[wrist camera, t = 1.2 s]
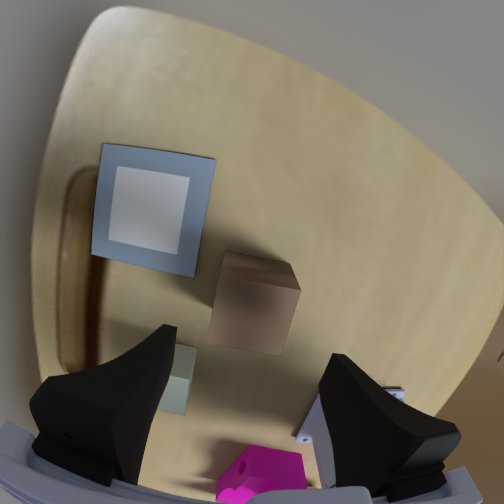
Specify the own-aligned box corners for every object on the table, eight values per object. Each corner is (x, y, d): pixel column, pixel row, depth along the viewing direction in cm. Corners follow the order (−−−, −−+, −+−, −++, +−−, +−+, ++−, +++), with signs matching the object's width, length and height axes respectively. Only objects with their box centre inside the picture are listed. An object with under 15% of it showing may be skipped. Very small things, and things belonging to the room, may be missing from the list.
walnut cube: (290, 263, 20) (301, 290, 16) (274, 320, 21) (280, 356, 17) (225, 250, 20) (219, 274, 15) (214, 308, 21) (206, 343, 17)
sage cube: (197, 347, 22) (189, 379, 18) (191, 382, 23) (184, 415, 19) (148, 335, 22) (133, 365, 18) (147, 372, 23) (134, 402, 19)
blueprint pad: (216, 160, 18) (216, 160, 18) (194, 276, 20) (193, 278, 20) (105, 143, 17) (103, 143, 17) (93, 252, 20) (91, 254, 19)
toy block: (249, 442, 26) (251, 501, 19) (301, 452, 27) (310, 505, 20) (206, 491, 30) (202, 533, 23) (247, 499, 31) (247, 540, 23)
